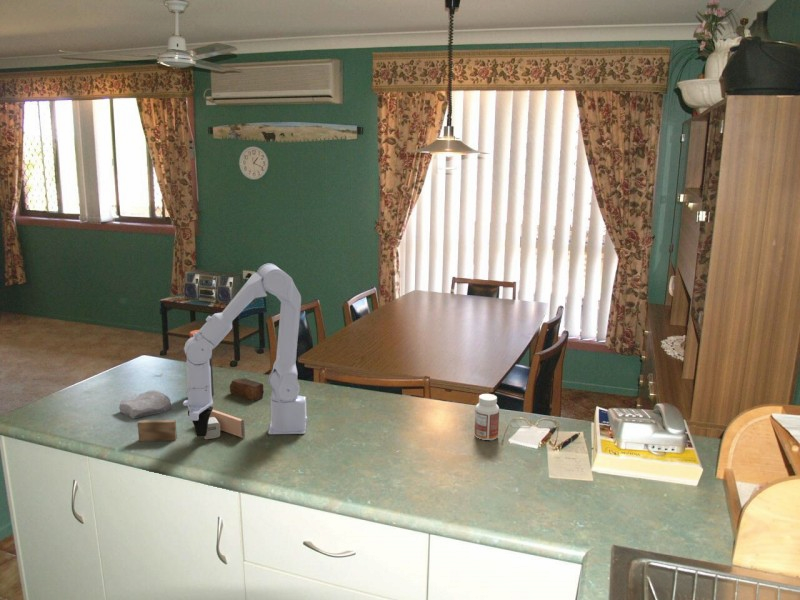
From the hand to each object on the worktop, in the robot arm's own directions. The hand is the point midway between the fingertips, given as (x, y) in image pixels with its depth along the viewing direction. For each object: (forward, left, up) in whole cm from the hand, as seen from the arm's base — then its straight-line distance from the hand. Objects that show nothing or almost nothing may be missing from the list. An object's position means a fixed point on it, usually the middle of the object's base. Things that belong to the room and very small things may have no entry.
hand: (201, 435), depth 157 cm
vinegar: (+7, -31, -2) cm, 32 cm away
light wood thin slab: (-4, -6, -1) cm, 8 cm away
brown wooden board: (+11, -2, -2) cm, 11 cm away
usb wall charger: (-1, -5, -2) cm, 5 cm away
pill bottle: (-73, 0, -2) cm, 73 cm away
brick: (-6, -31, -2) cm, 32 cm away
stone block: (+20, -21, -2) cm, 29 cm away
